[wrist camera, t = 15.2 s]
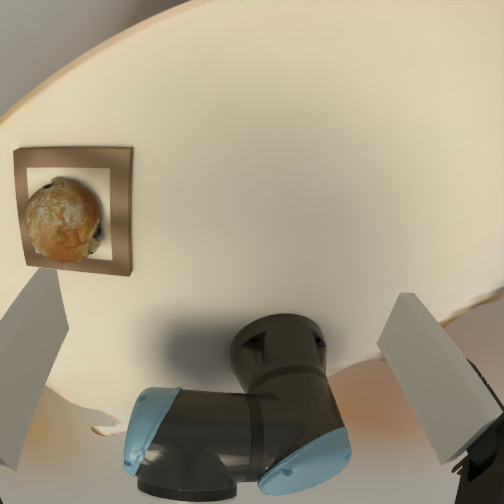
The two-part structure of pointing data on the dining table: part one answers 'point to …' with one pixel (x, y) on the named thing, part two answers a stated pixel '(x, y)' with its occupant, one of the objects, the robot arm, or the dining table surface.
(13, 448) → the robot arm
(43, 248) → the bread roll
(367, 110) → the dining table surface
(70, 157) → the walnut frame
